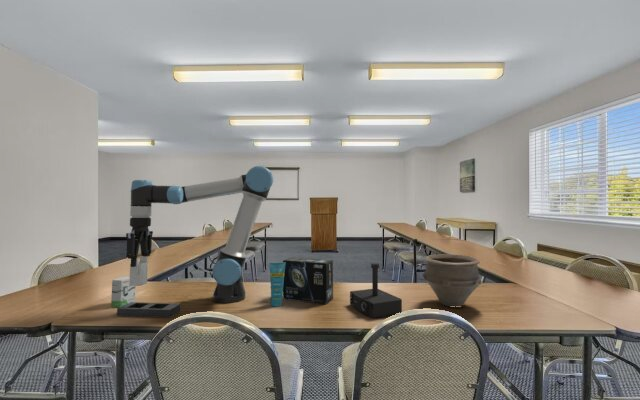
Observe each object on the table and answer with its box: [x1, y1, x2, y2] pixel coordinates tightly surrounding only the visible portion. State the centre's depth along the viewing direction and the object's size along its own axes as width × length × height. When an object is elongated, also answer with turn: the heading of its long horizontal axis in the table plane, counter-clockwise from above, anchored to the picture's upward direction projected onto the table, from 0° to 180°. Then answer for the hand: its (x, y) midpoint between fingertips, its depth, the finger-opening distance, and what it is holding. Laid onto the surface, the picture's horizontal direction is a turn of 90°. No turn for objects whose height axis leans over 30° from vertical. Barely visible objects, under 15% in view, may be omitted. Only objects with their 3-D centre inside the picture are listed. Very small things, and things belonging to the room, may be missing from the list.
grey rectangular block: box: [129, 261, 149, 287], centre depth 122 cm, size 4×4×9 cm
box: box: [282, 257, 334, 305], centre depth 143 cm, size 23×10×19 cm, turn 67°
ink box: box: [110, 275, 137, 308], centre depth 133 cm, size 9×5×12 cm, turn 171°
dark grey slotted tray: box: [116, 301, 182, 319], centre depth 121 cm, size 22×8×3 cm, turn 86°
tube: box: [268, 261, 286, 307], centre depth 133 cm, size 7×5×19 cm, turn 103°
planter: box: [422, 253, 483, 307], centre depth 135 cm, size 25×24×22 cm
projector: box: [349, 262, 403, 319], centre depth 128 cm, size 19×17×20 cm
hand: (138, 273), depth 122 cm, fingers closed on grey rectangular block, 4 cm apart
